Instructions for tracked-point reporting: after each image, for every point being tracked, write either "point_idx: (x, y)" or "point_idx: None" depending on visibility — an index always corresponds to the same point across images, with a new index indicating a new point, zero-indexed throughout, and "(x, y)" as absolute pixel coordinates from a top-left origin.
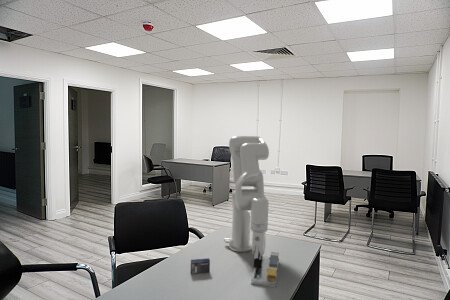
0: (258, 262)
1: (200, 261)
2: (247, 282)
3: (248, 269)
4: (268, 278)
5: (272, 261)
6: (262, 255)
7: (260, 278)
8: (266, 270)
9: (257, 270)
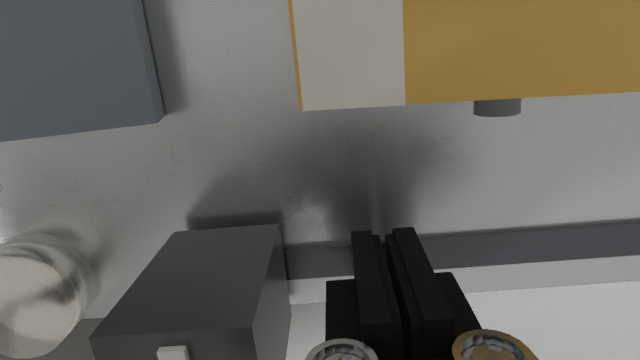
0: (470, 325)
1: None
2: (601, 287)
3: None
4: None
5: (67, 77)
6: (132, 321)
7: (635, 165)
8: (347, 128)
9: None
